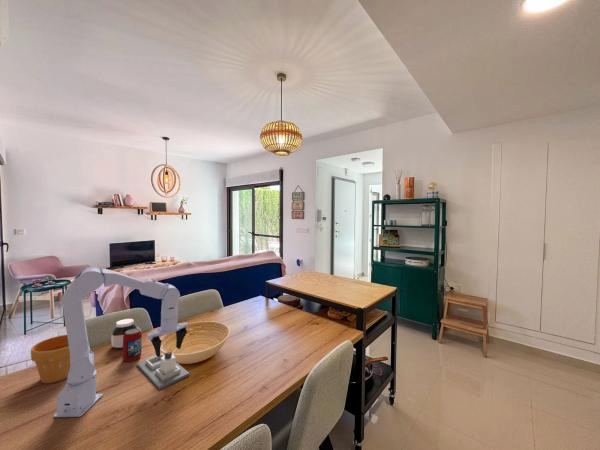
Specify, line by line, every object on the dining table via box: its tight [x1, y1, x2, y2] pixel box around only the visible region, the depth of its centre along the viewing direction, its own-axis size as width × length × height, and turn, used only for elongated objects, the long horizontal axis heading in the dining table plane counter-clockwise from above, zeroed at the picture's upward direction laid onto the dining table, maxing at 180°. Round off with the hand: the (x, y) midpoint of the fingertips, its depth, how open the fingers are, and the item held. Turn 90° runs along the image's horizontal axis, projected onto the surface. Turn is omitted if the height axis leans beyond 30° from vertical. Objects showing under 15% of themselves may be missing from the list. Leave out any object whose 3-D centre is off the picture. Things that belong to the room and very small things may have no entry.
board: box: [136, 353, 190, 390], centre depth 99 cm, size 22×11×2 cm, turn 51°
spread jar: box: [110, 318, 142, 350], centre depth 119 cm, size 12×11×12 cm
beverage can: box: [122, 327, 143, 362], centre depth 107 cm, size 7×7×12 cm
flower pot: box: [30, 334, 70, 384], centre depth 94 cm, size 14×14×13 cm
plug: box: [160, 351, 177, 375], centre depth 96 cm, size 4×4×8 cm
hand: (168, 351), depth 96 cm, fingers open, 7 cm apart
